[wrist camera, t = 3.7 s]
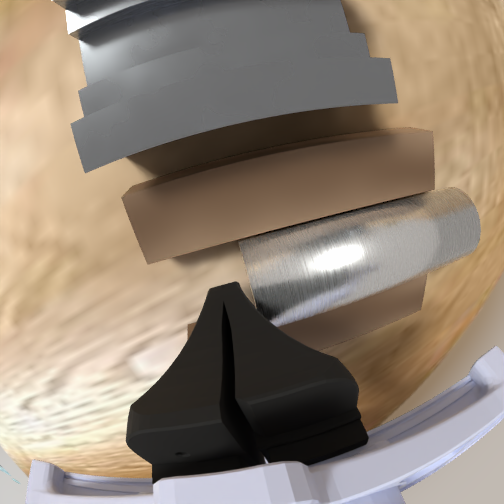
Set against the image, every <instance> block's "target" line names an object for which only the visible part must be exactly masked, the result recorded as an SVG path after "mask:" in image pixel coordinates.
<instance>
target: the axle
mask: <svg viewBox="0 0 504 504" xmlns="http://www.w3.org/2000/svg"><path fill="white" fill-rule="evenodd" d="M480 232H481V228H480V219H479V215H478V212H477V210H476V207H475V205H474V203H473V202H472V200H471V199H470V198H469V196H468V195H467V194H466V193H464V192H463V191H462V190H460V189H458V188H455V187H449V188H444V189H440V190H436V191H432V192H428V193H424V194H419V195H415V196H411V197H407V198H403V199H399V200H395V201H391V202H387V203H383V204H379V205H375V206H371V207H367V208H363V209H359V210H355V211H351V212H347V213H343V214H339V215H335V216H331V217H328V218H324V219H320V220H316V221H312V222H308V223H304V224H301V225H297V226H293V227H289V228H285V229H282V230H278V231H274V232H270V233H266V234H263V235H259V236H255V237H252V238H248V239H244V240H240V241H238V243H239V247H240V251H241V255H242V259H243V262H244V266H245V270H246V274H247V277H248V281H249V284H250V288H251V292H252V295H253V299H254V302H255V306H256V309H257V310H258V311H259V312H260V313H261V314H262V315H263V316H264V317H265V318H267V319H268V320H269V321H270V322H271V323H272V324H273V325H275V326H276V327H279V326H282V325H285V324H289V323H292V322H295V321H299V320H302V319H305V318H308V317H312V316H315V315H318V314H321V313H324V312H327V311H330V310H333V309H336V308H339V307H342V306H345V305H348V304H350V303H353V302H356V301H359V300H362V299H364V298H367V297H370V296H373V295H375V294H378V293H381V292H383V291H386V290H388V289H391V288H394V287H396V286H399V285H401V284H404V283H406V282H409V281H411V280H413V279H416V278H418V277H421V276H423V275H425V274H428V273H430V272H432V271H435V270H437V269H439V268H442V267H444V266H446V265H448V264H450V263H453V262H455V261H457V260H459V259H461V258H463V257H466V256H468V255H470V254H471V253H472V252H473V251H474V250H475V249H476V247H477V245H478V243H479V239H480Z"/></svg>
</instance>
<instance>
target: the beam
mask: <svg viewBox="0 0 504 504" xmlns="http://www.w3.org/2000/svg"><path fill="white" fill-rule="evenodd" d="M434 188H435V168H434V141H433V131H428V130H423V129H417V128H411V127H408V128H396V129H385V130H376V131H367V132H359V133H351V134H344V135H337V136H331V137H324V138H318V139H312V140H307V141H301V142H296V143H290V144H285V145H280V146H275V147H271V148H266V149H262V150H257V151H253V152H248V153H244V154H240V155H236V156H232V157H228V158H224V159H220V160H216V161H212V162H209V163H205V164H201V165H198V166H194V167H191V168H187V169H184V170H181V171H177V172H174V173H171V174H168V175H164V176H161V177H158V178H155V179H152V180H149V181H146V182H143V183H140V184H137V185H134V186H132V187H131V188H130V189H129V190H128V191H127V192H126V193H125V194H124V195H123V196H122V197H121V198H122V201H123V203H124V206H125V209H126V212H127V214H128V217H129V220H130V222H131V225H132V227H133V230H134V233H135V235H136V238H137V240H138V243H139V245H140V248H141V250H142V252H143V255H144V257H145V259H146V262H147V264H151V263H155V262H158V261H162V260H166V259H169V258H173V257H176V256H180V255H183V254H187V253H191V252H194V251H198V250H201V249H205V248H209V247H212V246H216V245H220V244H223V243H227V242H231V241H234V240H238V239H242V238H245V237H249V236H253V235H257V234H260V233H264V232H268V231H272V230H275V229H279V228H283V227H287V226H291V225H294V224H298V223H302V222H306V221H310V220H314V219H317V218H321V217H325V216H329V215H333V214H337V213H341V212H345V211H349V210H353V209H357V208H361V207H365V206H369V205H373V204H377V203H381V202H385V201H389V200H393V199H397V198H401V197H406V196H410V195H414V194H418V193H422V192H426V191H431V190H434ZM426 279H427V274H425V275H423V276H421V277H418V278H416V279H413V280H411V281H409V282H406V283H404V284H401V285H399V286H396V287H394V288H391V289H388V290H386V291H383V292H381V293H378V294H375V295H373V296H370V297H367V298H364V299H362V300H359V301H356V302H353V303H350V304H348V305H345V306H342V307H339V308H336V309H333V310H330V311H327V312H324V313H321V314H318V315H315V316H312V317H308V318H305V319H302V320H299V321H295V322H292V323H289V324H285V325H282V326H279V327H277V328H279V329H280V330H281V331H283V332H284V333H286V334H287V335H289V336H290V337H292V338H294V339H295V340H297V341H299V342H301V343H302V344H304V345H306V346H308V347H310V348H312V349H314V350H317V351H319V350H322V349H325V348H328V347H331V346H334V345H336V344H339V343H342V342H345V341H347V340H350V339H353V338H355V337H358V336H361V335H363V334H366V333H368V332H371V331H373V330H376V329H378V328H381V327H383V326H385V325H388V324H390V323H393V322H395V321H397V320H399V319H402V318H404V317H406V316H408V315H411V314H413V313H415V312H417V311H419V310H421V307H422V302H423V297H424V291H425V286H426ZM255 308H256V307H255ZM196 323H197V322H196ZM196 323H192V324H188V339H189V337H190V335H191V333H192V331H193V329H194V327H195V325H196Z"/></svg>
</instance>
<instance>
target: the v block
mask: <svg viewBox="0 0 504 504" xmlns="http://www.w3.org/2000/svg"><path fill="white" fill-rule="evenodd" d="M52 1H54V2H55V3H57V4H58V5H60V6H61V7H63V8H64V9H66V17H67V26H68V34H69V35H71V36H73V37H75V38H77V39H78V40H79V43H80V49H81V55H82V61H83V66H84V71H85V76H86V81H87V87H85V88H83V89H81V90H79V91H78V92H79V97H80V101H81V106H82V110H83V114H84V118H82V119H79V120H77V121H75V122H73V123H71V128H72V131H73V135H74V139H75V142H76V146H77V149H78V153H79V156H80V159H81V162H82V165H83V169H84V172H85V173H87V172H89V171H92V170H94V169H96V168H99V167H101V166H104V165H106V164H109V163H111V162H114V161H116V160H119V159H122V158H124V157H127V156H130V155H132V154H135V153H138V152H141V151H144V150H146V149H149V148H152V147H155V146H158V145H161V144H165V143H168V142H171V141H174V140H177V139H181V138H184V137H188V136H191V135H195V134H198V133H202V132H206V131H209V130H213V129H217V128H221V127H225V126H229V125H234V124H238V123H243V122H247V121H252V120H257V119H262V118H267V117H272V116H278V115H284V114H290V113H296V112H303V111H310V110H317V109H325V108H334V107H343V106H355V105H368V104H387V103H398V99H397V93H396V87H395V81H394V76H393V70H392V65H391V61H390V58H372V57H370V55H369V50H368V46H367V42H366V38H365V34H364V33H350V31H349V27H348V24H347V20H346V17H345V13H344V10H343V7H342V4H341V1H340V0H52Z"/></svg>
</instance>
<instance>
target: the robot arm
mask: <svg viewBox="0 0 504 504" xmlns="http://www.w3.org/2000/svg"><path fill="white" fill-rule="evenodd" d="M358 394H359V388H358V384H357V383H356V381H355V379H354V378H353V376H352V375H351V373H350V372H349V371H348V370H347V369H346V367H345V366H344V365H343V364H342V363H341V362H340V361H339V360H338V359H337V358H335V357H332V356H329V355H327V354H324V353H321V352H319V351H317V350H314V349H312V348H310V347H308V346H306V345H304V344H302V343H301V342H299V341H297V340H295V339H294V338H292V337H290V336H289V335H287V334H286V333H284V332H283V331H281V330H280V329H279V328H277V327H276V326H275V325H273V324H272V323H271V322H270V321H269V320H268V319H267V318H265V317H264V316H263V315H262V314H261V313H260V312H259V311H258V310H257V309H256V308H255V306H254V305H253V304H252V303H251V302H250V301H249V299H248V298H247V297H246V295H245V294H244V292H243V291H242V289H241V287H240V284H239V283H238V282H232V283H228V284H225V285H221V286H217V287H214V288H210V289H209V291H208V294H207V297H206V300H205V303H204V306H203V308H202V311H201V313H200V316H199V318H198V320H197V323H196V325H195V327H194V329H193V331H192V333H191V335H190V337H189V339H188V341H187V342H186V344H185V346H184V347H183V349H182V351H181V352H180V354H179V355H178V357H177V358H176V359H175V361H174V362H173V363H172V365H171V366H170V367H169V369H168V370H167V371H166V372H165V373H164V375H163V376H162V377H161V378H160V379H159V380H158V381H157V382H156V383H155V384H154V385H153V386H152V387H151V388H150V389H149V390H148V391H147V392H146V393H145V394H144V395H142V396H141V397H140V398H139V399H138V400H137V401H136V402H134V403H133V404H132V405H131V407H130V411H129V416H128V423H127V434H126V443H127V445H128V447H129V448H130V449H131V450H132V451H134V452H135V453H136V454H137V455H139V456H140V457H142V458H143V459H145V460H146V461H148V462H149V463H150V464H152V478H118V477H104V476H93V475H85V474H77V473H70V472H64V471H63V470H62V469H61V468H59V467H58V466H56V465H54V464H51V463H49V462H44V461H39V460H35V459H34V460H32V464H31V469H30V475H29V481H28V487H27V494H26V502H25V504H405V501H404V499H403V497H402V495H401V493H400V492H402V491H404V490H406V489H408V488H409V487H411V486H413V485H415V484H416V483H418V482H420V481H421V480H423V479H425V478H426V477H428V476H430V475H431V474H433V473H434V472H436V471H437V470H439V469H440V468H442V467H443V466H445V465H446V464H448V463H449V462H451V461H452V460H454V459H455V458H456V457H458V456H459V455H460V454H462V453H463V452H464V451H466V450H467V449H468V448H470V447H471V446H472V445H473V444H475V443H476V442H477V441H478V440H480V439H481V438H482V437H483V436H484V435H485V434H487V433H488V432H489V431H490V430H491V429H492V428H494V427H495V426H496V425H497V424H498V423H499V422H500V421H501V420H502V419H503V418H504V353H503V352H502V351H501V350H500V349H499V348H498V346H494V347H493V348H491V349H490V350H489V351H488V352H487V353H485V354H484V355H482V356H481V357H480V358H479V359H478V360H477V361H476V362H475V363H474V364H473V366H472V368H471V370H470V372H469V374H468V375H467V376H466V377H464V378H463V379H461V380H460V381H458V382H457V383H456V384H454V385H453V386H451V387H450V388H448V389H446V390H445V391H443V392H442V393H440V394H438V395H437V396H435V397H434V398H432V399H430V400H429V401H427V402H425V403H423V404H422V405H420V406H418V407H416V408H414V409H413V410H411V411H409V412H407V413H405V414H403V415H401V416H399V417H398V418H396V419H393V420H391V421H389V422H387V423H385V424H383V425H381V426H379V427H377V428H374V429H372V430H370V431H368V432H366V430H365V428H364V426H363V424H362V422H361V420H360V419H361V414H360V412H359V410H358V408H357V401H358Z"/></svg>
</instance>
